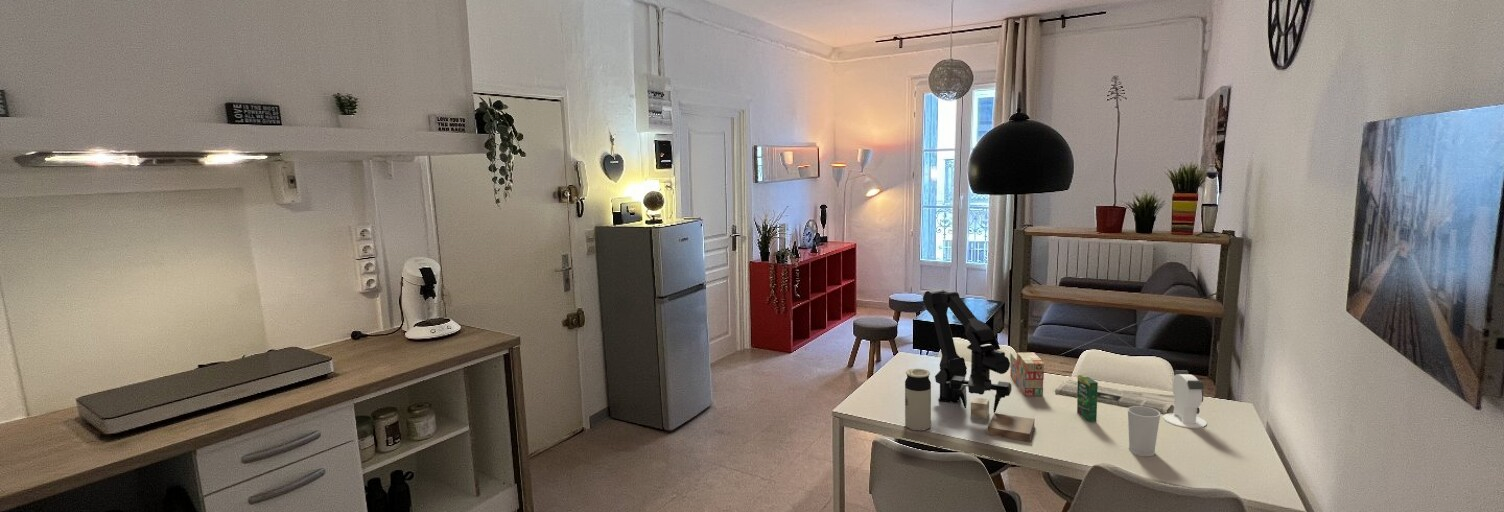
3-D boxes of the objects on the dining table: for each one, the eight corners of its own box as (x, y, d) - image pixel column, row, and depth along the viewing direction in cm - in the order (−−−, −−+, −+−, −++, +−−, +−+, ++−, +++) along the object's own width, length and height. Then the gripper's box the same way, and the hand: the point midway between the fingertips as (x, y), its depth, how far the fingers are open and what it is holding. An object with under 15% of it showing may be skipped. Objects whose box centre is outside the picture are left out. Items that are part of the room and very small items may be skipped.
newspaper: (1055, 394, 234) (1055, 384, 234) (1065, 384, 244) (1065, 375, 243) (1171, 416, 212) (1172, 406, 211) (1177, 404, 221) (1178, 394, 221)
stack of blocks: (1009, 375, 254) (1010, 345, 252) (1026, 376, 253) (1027, 345, 251) (1024, 396, 233) (1025, 362, 231) (1043, 396, 232) (1044, 362, 230)
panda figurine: (1214, 429, 200) (1217, 382, 198) (1173, 428, 202) (1176, 381, 200) (1195, 414, 212) (1198, 369, 210) (1157, 413, 214) (1159, 368, 212)
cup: (1119, 446, 192) (1121, 407, 190) (1145, 444, 192) (1147, 405, 191) (1137, 458, 184) (1139, 417, 182) (1164, 456, 185) (1167, 415, 183)
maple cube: (970, 416, 217) (970, 402, 216) (973, 411, 222) (973, 396, 221) (986, 419, 215) (986, 404, 214) (989, 413, 219) (989, 399, 218)
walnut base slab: (987, 434, 203) (987, 427, 202) (994, 420, 213) (994, 413, 213) (1029, 441, 197) (1029, 433, 197) (1034, 426, 207) (1034, 419, 207)
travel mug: (931, 422, 214) (931, 368, 211) (929, 432, 206) (929, 377, 204) (906, 420, 216) (906, 367, 214) (903, 429, 209) (903, 375, 206)
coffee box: (1075, 412, 217) (1077, 374, 215) (1084, 412, 217) (1085, 374, 215) (1087, 422, 209) (1089, 383, 207) (1096, 422, 209) (1098, 382, 207)
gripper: (945, 368, 213) (945, 414, 216) (1007, 376, 204) (1006, 424, 207) (953, 358, 223) (953, 402, 225) (1012, 365, 214) (1011, 411, 216)
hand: (979, 410), depth 218 cm, fingers open, 9 cm apart
